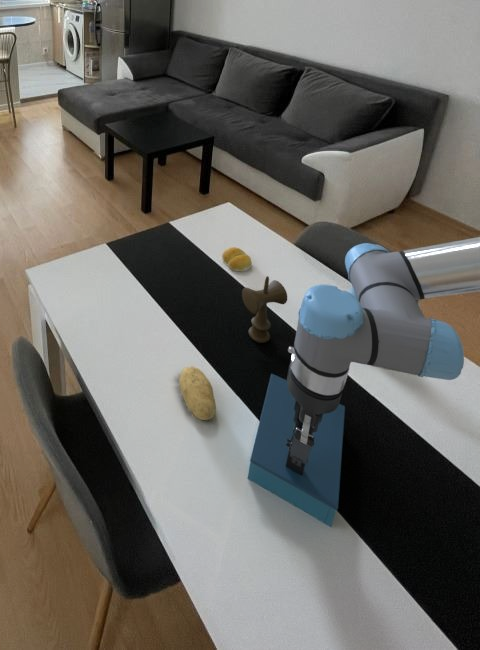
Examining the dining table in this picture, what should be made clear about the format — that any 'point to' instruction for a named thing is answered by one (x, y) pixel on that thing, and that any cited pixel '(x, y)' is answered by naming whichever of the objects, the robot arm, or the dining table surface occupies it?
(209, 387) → the potato
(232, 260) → the bread roll
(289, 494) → the blue open box
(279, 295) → the kendama
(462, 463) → the dining table surface
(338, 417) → the lid
